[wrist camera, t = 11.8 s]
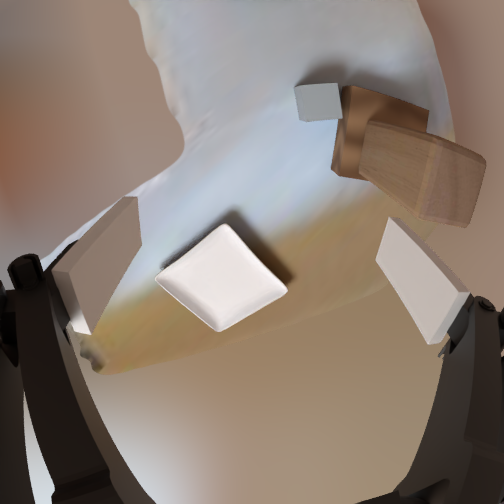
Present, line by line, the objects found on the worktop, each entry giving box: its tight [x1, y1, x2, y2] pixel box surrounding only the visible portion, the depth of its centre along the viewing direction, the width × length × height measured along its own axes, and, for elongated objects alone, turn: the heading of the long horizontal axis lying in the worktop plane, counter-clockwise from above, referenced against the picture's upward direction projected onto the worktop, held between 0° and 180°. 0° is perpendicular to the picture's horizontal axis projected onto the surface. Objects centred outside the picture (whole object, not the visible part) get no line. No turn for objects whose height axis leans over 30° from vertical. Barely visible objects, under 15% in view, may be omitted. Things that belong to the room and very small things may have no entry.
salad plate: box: [155, 223, 288, 332], centre depth 59 cm, size 21×21×3 cm
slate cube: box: [294, 83, 343, 122], centre depth 39 cm, size 6×6×6 cm
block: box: [359, 120, 486, 228], centre depth 33 cm, size 10×10×20 cm
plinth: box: [331, 85, 429, 181], centre depth 42 cm, size 16×16×5 cm
